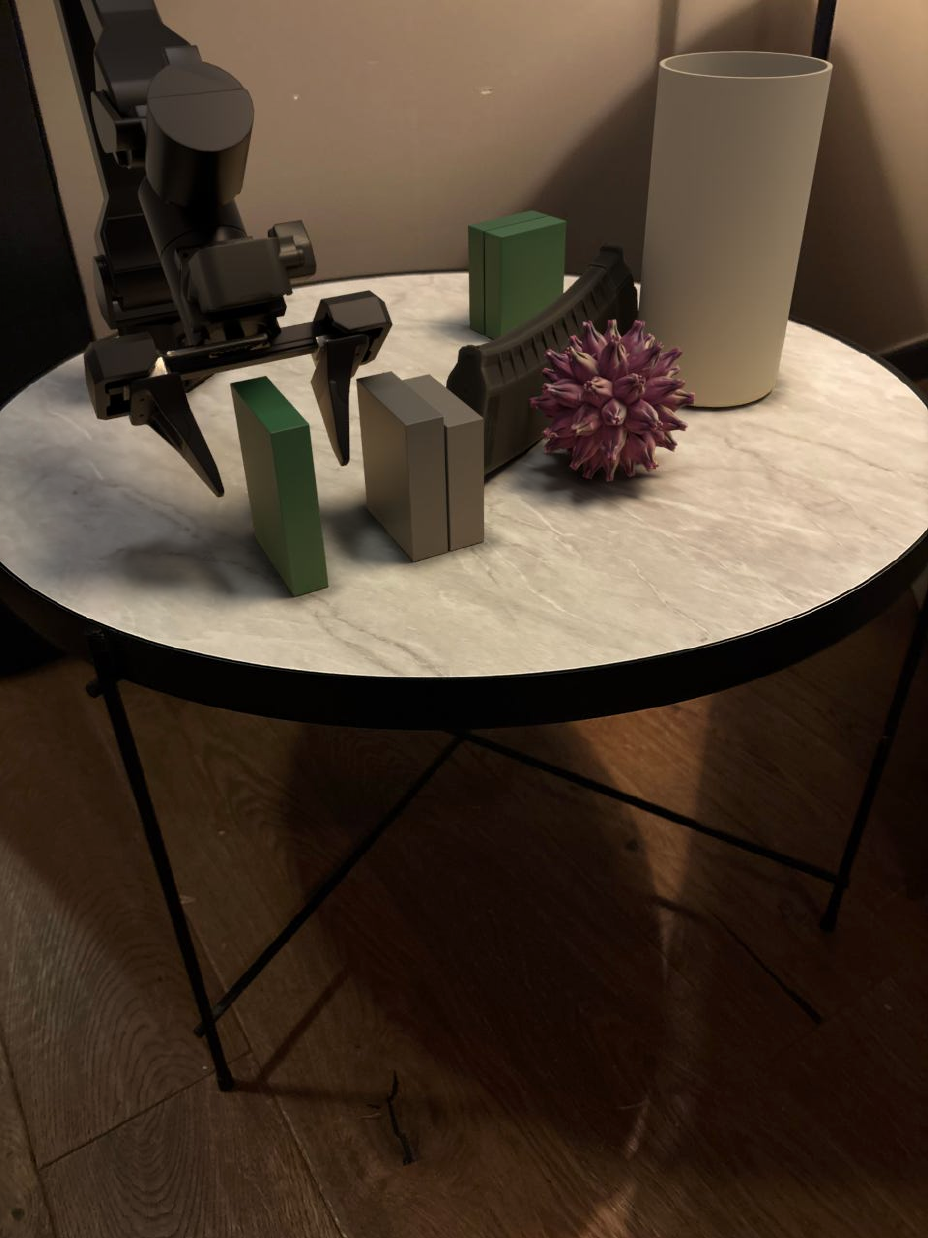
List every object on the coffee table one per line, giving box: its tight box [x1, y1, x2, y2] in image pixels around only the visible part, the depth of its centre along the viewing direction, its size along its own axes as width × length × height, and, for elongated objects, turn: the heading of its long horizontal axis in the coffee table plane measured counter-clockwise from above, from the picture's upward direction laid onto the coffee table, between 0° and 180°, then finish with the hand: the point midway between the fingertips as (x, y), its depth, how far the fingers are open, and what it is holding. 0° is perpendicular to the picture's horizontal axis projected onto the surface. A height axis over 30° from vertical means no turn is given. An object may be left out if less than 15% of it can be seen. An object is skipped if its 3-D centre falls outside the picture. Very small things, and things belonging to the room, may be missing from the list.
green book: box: [229, 375, 330, 597], centre depth 65 cm, size 8×2×12 cm, turn 27°
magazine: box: [445, 242, 639, 476], centre depth 81 cm, size 17×3×30 cm
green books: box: [467, 209, 567, 340], centre depth 99 cm, size 8×5×10 cm, turn 127°
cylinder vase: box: [637, 50, 834, 408], centre depth 83 cm, size 12×12×25 cm
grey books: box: [355, 370, 485, 563], centre depth 69 cm, size 8×5×10 cm
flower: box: [529, 319, 695, 482], centre depth 74 cm, size 12×12×12 cm
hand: (285, 479), depth 63 cm, fingers open, 8 cm apart
